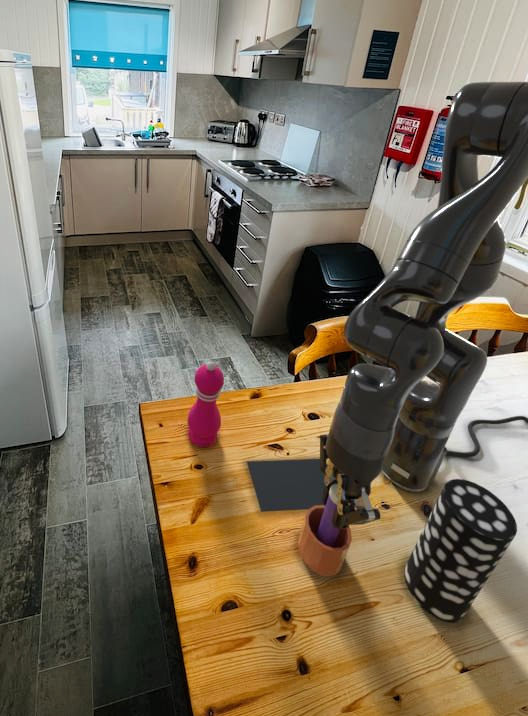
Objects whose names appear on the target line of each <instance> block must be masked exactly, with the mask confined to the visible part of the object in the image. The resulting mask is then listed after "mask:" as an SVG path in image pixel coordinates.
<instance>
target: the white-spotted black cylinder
mask: <svg viewBox="0 0 528 716" xmlns="http://www.w3.org/2000/svg"><path fill="white" fill-rule="evenodd" d="M517 533H518V524H517V520H516V519H515V516H514V514H513V513H512V511H511V510H510V509H509V507H508V506H507V505H506V504H505V503H504V502H503V500H501V499H500V498H499V496H497V495H495V494H494V493H493V492H491V491H490V490H488V489H487V488H485V487H484V486H482V485H480V484H478V483H476V482H473V481H471V480H467V479H462V478H452V479H450V480H448V481H446V482H445V484H444V486H443V487H442V490H441V491H440V494H439V496H438V497H437V500H436V502H435V504H434V506H433V508H432V510H431V512H430V513H429V517H428V519H427V520H426V522H425V525H424V527H423V529H422V531H421V533H420V535H419V537H418V539H417V542H416V543H415V545H414V547H413V549H412V551H411V553H410V555H409V558H408V559H407V562H406V564H405V565H404V569H403V577H404V582H405V585H406V587H407V589H408V591H409V593H410V594H411V596H412V598H413V599H414V600H415V602H416V603H417V604H418V605H419V606H420V607H421V608H422V609H423V610H424V611H425V612H426V613H427V614H429V615H431V616H432V617H433V618H436V619H437V620H439V621H442V622H445V623H450V624H452V623H458V622H460V621H462V619H463V618H464V617H465V616H466V614H467V613H468V611H469V609H470V608H471V606H472V605H473V603H474V602H475V600H476V599H477V597H478V595H479V594H480V592H481V590H482V589H483V587H484V586H485V584H486V583H487V581H488V579H489V578H490V577H491V575H492V573H493V572H494V570H495V569H496V567H497V565H498V564H499V562H500V561H501V559H502V557H503V556H504V554H505V553H506V551H507V549H508V548H509V547H510V545H511V543H512V542H513V541H514V539H515V537H516V536H517Z"/></svg>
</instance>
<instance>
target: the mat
mask: <svg viewBox="0 0 528 716" xmlns="http://www.w3.org/2000/svg"><path fill="white" fill-rule="evenodd" d="M246 465H247V468H248V471H249V474H250V478H251V481H252V485H253V489H254V492H255V496H256V500H257V502H258V506H259V510H260V512H277V511H297V510H300V511H301V510H309V509H310V508H312V507H313V506H316V505H324V503H323V501H322V497H323V491H324V488H325V483H324V478H325V473H322V472H321V470H320V458H308V459H307V458H306V459H305V458H303V459H277V460H249V461H246ZM324 506H326V505H324Z"/></svg>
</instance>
